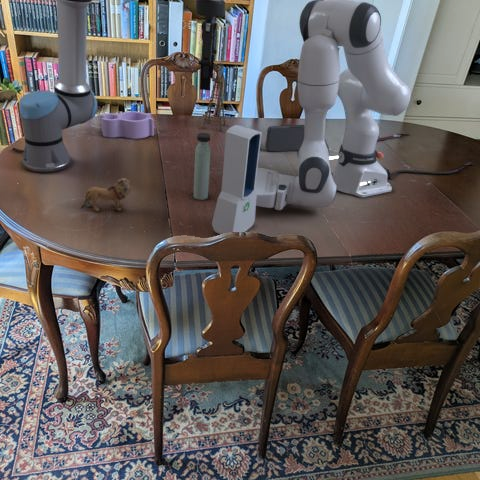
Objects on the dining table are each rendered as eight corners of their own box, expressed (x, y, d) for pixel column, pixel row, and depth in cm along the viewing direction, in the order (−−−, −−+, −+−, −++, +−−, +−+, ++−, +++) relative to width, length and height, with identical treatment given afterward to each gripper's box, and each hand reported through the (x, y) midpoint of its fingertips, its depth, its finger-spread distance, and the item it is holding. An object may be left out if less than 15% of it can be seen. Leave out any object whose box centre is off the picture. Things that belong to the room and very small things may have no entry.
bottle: (204, 192, 153) (208, 133, 142) (210, 198, 149) (213, 138, 139) (191, 194, 151) (193, 134, 140) (196, 200, 148) (199, 139, 137)
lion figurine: (130, 201, 143) (129, 174, 138) (133, 209, 139) (132, 182, 134) (79, 205, 138) (76, 178, 133) (81, 214, 134) (78, 186, 129)
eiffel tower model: (220, 131, 201) (226, 58, 185) (202, 128, 202) (205, 55, 186) (225, 124, 209) (231, 54, 193) (207, 122, 210) (211, 51, 194)
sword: (406, 132, 223) (406, 130, 222) (411, 134, 221) (412, 132, 220) (362, 144, 207) (363, 141, 206) (368, 146, 205) (368, 143, 204)
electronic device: (232, 242, 129) (242, 138, 113) (210, 232, 132) (217, 130, 116) (255, 224, 138) (267, 126, 122) (233, 216, 141) (243, 119, 125)
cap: (207, 137, 142) (207, 132, 141) (211, 141, 139) (212, 136, 138) (195, 138, 141) (195, 133, 140) (199, 142, 138) (200, 137, 137)
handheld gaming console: (315, 147, 196) (319, 124, 190) (317, 149, 194) (322, 126, 188) (264, 149, 189) (267, 125, 183) (266, 152, 187) (269, 127, 181)
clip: (103, 139, 182) (102, 122, 178) (101, 128, 192) (100, 111, 188) (155, 138, 188) (155, 121, 184) (150, 127, 198) (149, 111, 194)
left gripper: (200, -8, 130) (197, 71, 141) (191, 2, 109) (188, 94, 121) (227, -5, 130) (221, 74, 142) (223, 5, 110) (217, 96, 121)
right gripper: (285, 166, 153) (243, 160, 153) (283, 194, 135) (236, 187, 136) (282, 183, 156) (241, 178, 157) (280, 213, 139) (234, 206, 139)
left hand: (206, 83), depth 131 cm, fingers open, 12 cm apart
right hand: (239, 182), depth 146 cm, fingers open, 8 cm apart
